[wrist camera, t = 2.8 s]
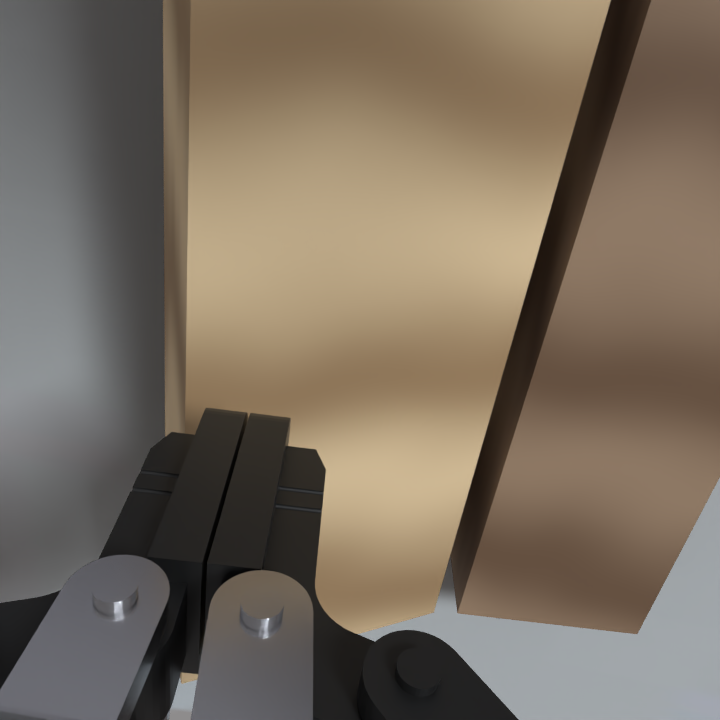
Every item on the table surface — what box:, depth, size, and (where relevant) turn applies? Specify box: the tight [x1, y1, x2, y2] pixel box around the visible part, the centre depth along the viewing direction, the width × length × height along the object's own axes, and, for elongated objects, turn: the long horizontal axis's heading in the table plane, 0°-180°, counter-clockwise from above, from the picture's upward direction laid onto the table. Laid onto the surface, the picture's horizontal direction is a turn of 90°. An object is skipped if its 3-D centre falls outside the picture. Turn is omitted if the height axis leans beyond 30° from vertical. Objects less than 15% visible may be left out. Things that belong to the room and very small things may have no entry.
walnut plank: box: [451, 0, 720, 634], centre depth 18 cm, size 20×6×2 cm, turn 172°
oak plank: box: [163, 0, 611, 684], centre depth 16 cm, size 20×8×2 cm, turn 172°
